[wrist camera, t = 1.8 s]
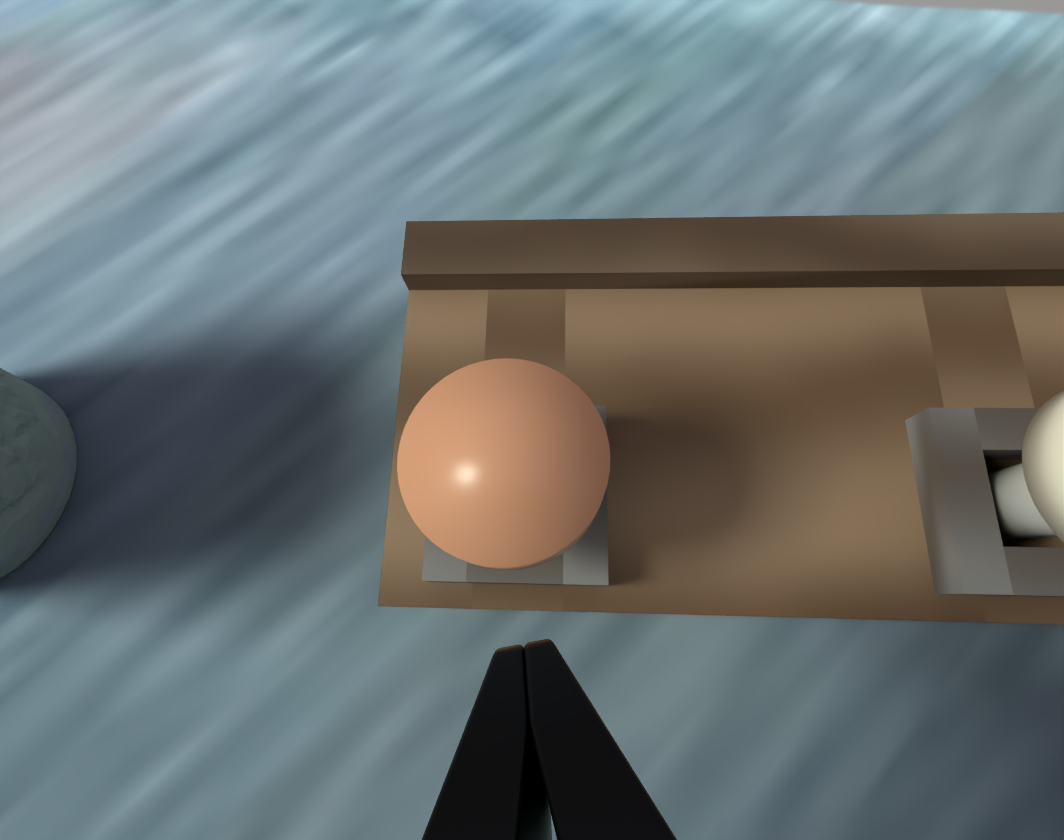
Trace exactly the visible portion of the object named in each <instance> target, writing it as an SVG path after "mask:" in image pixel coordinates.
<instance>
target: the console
mask: <svg viewBox="0 0 1064 840" xmlns="http://www.w3.org/2000/svg"><path fill="white" fill-rule="evenodd" d="M401 275H402V277H403V279H404V281H405V283H406V285H407V287H408V289H409V295H408V305H407V316H406V326H405V336H404V346H403V356H402V366H401V377H400V387H399V397H398V407H397V417H396V427H395V438H394V448H393V458H392V468H391V478H390V488H389V498H388V509H387V519H386V529H385V539H384V549H383V559H382V570H381V580H380V590H379V600H378V606H389V607H426V608H464V609H501V610H539V611H576V612H614V613H651V614H689V615H726V616H764V617H801V618H839V619H876V620H914V621H951V622H989V623H1026V624H1064V542H1063V541H1061V539H1060V538H1059V537H1058V536H1052V537H1044V538H1036V539H1029V540H1021V541H1014V542H1006V543H1002V539H1001V534H1000V529H999V524H998V520H997V515H996V510H995V506H994V501H993V496H992V492H991V487H990V482H989V477H988V473H990V472H993V471H997V470H1000V469H1003V468H1007V467H1010V466H1013V465H1017V464H1020V463H1022V447H1023V440H1024V436H1025V433H1026V430H1027V427H1028V425H1029V423H1030V421H1031V419H1032V418H1033V416H1034V415H1035V413H1036V412H1037V411H1038V409H1039V408H1040V407H1041V406H1042V405H1043V404H1044V403H1045V402H1046V401H1048V400H1049V399H1051V398H1052V397H1053V396H1055V395H1056V394H1058V393H1060V392H1062V391H1064V213H998V214H924V215H851V216H777V217H703V218H630V219H556V220H483V221H409V222H406V231H405V241H404V250H403V260H402V270H401ZM504 358H510V359H522V360H527V361H533V362H536V363H539V364H542V365H545V366H548V367H550V368H552V369H554V370H556V371H558V372H560V373H561V374H563V375H564V376H566V377H568V378H569V379H570V380H571V381H573V382H574V383H575V384H576V385H578V386H579V387H580V388H581V389H582V391H583V392H584V393H585V394H586V395H587V396H588V397H589V399H590V400H591V401H592V403H593V404H594V406H595V407H596V409H597V411H598V413H599V415H600V416H601V418H602V421H603V424H604V426H605V429H606V432H607V437H608V441H609V447H610V473H609V478H608V484H607V488H606V491H605V494H604V497H603V500H602V502H601V505H600V508H599V510H598V512H597V514H596V516H595V518H594V520H593V522H592V524H591V525H590V527H589V528H588V530H587V531H586V532H585V534H584V535H583V536H582V537H581V538H580V539H579V540H578V541H577V542H576V543H575V544H574V545H573V546H572V547H571V548H569V549H568V550H567V551H566V552H564V553H563V554H561V555H560V556H558V557H556V558H555V559H552V560H550V561H548V562H546V563H544V564H541V565H538V566H535V567H532V568H527V569H521V570H508V571H504V570H493V569H488V568H484V567H479V566H477V565H474V564H471V563H469V562H466V561H464V560H461V559H459V558H456V557H454V556H452V555H451V554H449V553H447V552H445V551H443V550H442V549H441V548H439V547H438V546H437V545H435V544H434V543H433V542H431V541H430V540H429V539H428V538H427V537H426V536H425V535H424V534H423V533H422V531H421V530H420V529H419V528H418V526H417V525H416V524H415V522H414V521H413V519H412V517H411V516H410V514H409V512H408V510H407V508H406V506H405V503H404V501H403V498H402V495H401V491H400V487H399V483H398V473H397V456H398V450H399V444H400V440H401V436H402V433H403V430H404V427H405V425H406V423H407V421H408V418H409V417H410V415H411V413H412V412H413V410H414V408H415V407H416V405H417V404H418V403H419V401H420V400H421V399H422V398H423V396H424V395H425V394H426V393H427V392H428V391H429V390H430V389H431V388H432V387H433V386H434V385H436V384H437V383H438V382H439V381H441V380H442V379H443V378H445V377H446V376H448V375H450V374H451V373H453V372H455V371H456V370H459V369H461V368H463V367H465V366H468V365H471V364H474V363H477V362H480V361H486V360H491V359H504Z"/></svg>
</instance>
